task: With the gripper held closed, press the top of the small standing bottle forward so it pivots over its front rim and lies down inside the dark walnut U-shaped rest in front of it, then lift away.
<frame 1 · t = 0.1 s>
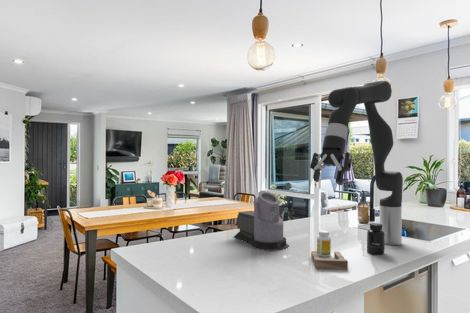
hand: (326, 181, 111), 31 cm above the worktop, tool tilted 20°, fingers open, 8 cm apart
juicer: (260, 242, 151), on the worktop
supplement bottle 2: (323, 255, 132), on the worktop
walnut U-rest: (327, 261, 123), on the worktop
supplement bottle: (375, 253, 134), on the worktop
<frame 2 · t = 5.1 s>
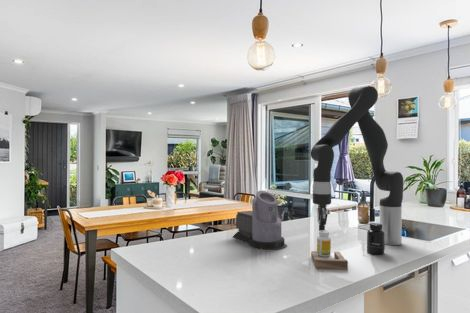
hand: (321, 233, 135), 8 cm above the worktop, tool pointing down, fingers closed
supplement bottle 2: (323, 254, 132), on the worktop, touching gripper
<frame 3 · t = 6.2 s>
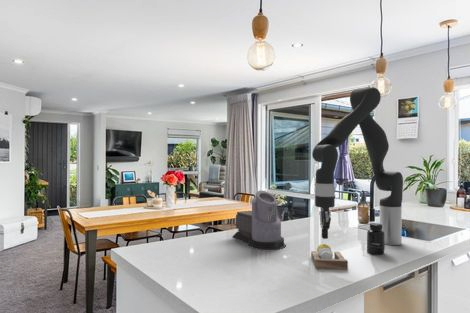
hand: (324, 238, 128), 8 cm above the worktop, tool pointing down, fingers closed
supplement bottle 2: (323, 249, 129), point 3 cm above the worktop, touching walnut U-rest
everything else where it was.
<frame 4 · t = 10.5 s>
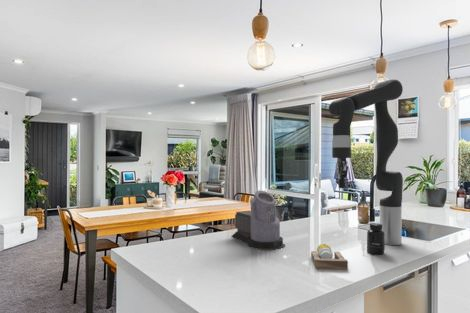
hand: (341, 187, 135), 27 cm above the worktop, tool pointing down, fingers closed
at the end: supplement bottle 2 tilted 90°; supplement bottle 2 inside the target area (3.6 cm from its centre), point 2.6 cm above the worktop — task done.
